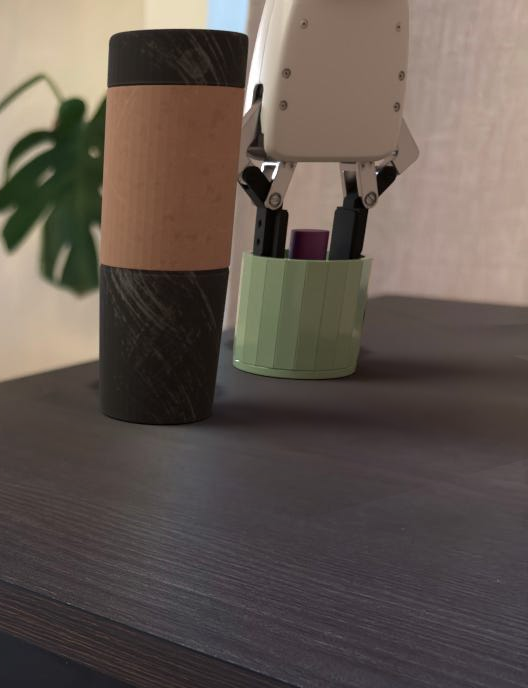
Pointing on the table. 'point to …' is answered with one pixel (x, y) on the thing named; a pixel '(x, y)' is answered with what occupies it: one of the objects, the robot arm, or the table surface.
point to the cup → (300, 316)
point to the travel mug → (167, 219)
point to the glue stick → (308, 244)
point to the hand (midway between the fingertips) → (306, 265)
